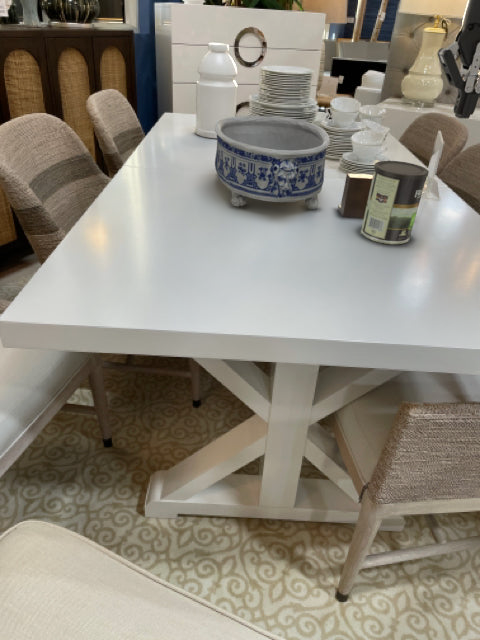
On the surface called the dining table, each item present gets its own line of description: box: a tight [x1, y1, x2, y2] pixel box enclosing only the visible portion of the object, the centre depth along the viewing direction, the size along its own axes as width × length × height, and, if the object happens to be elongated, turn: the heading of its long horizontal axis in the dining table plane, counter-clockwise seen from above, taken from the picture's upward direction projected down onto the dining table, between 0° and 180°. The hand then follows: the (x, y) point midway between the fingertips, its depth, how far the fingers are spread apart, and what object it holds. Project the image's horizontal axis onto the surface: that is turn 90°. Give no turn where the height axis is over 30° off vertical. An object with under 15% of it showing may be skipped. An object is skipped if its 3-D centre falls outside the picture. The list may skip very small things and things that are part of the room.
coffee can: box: [360, 160, 430, 245], centre depth 96 cm, size 10×10×14 cm
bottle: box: [195, 42, 239, 140], centre depth 160 cm, size 14×14×28 cm
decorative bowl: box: [214, 115, 331, 210], centre depth 115 cm, size 42×27×15 cm, turn 8°
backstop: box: [337, 173, 373, 219], centre depth 107 cm, size 16×5×9 cm, turn 93°
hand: (461, 117), depth 76 cm, fingers closed
